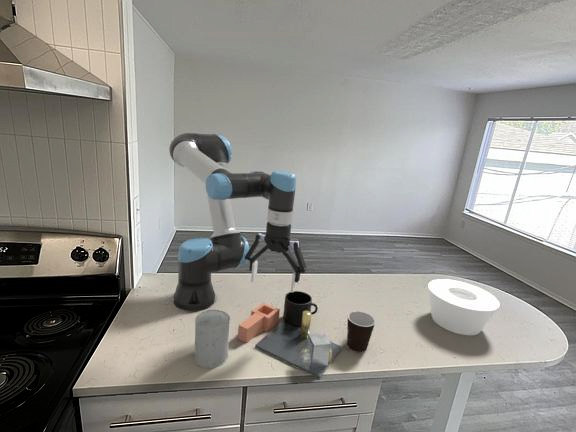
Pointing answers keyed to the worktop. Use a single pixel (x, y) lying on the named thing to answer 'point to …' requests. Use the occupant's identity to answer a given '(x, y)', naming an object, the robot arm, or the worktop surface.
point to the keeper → (320, 349)
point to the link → (258, 322)
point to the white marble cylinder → (211, 338)
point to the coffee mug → (359, 330)
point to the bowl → (461, 306)
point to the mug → (297, 307)
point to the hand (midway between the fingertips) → (273, 285)
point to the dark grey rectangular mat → (293, 348)
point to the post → (305, 324)
